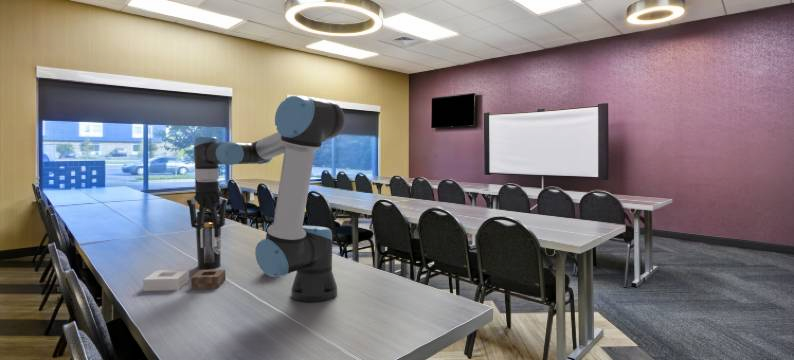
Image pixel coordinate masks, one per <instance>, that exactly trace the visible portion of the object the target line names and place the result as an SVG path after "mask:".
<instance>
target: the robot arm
mask: <svg viewBox="0 0 794 360" xmlns="http://www.w3.org/2000/svg"><path fill="white" fill-rule="evenodd" d="M345 124H346V115H345V113H344V111H343V109H342V107H340V105H339V104H337V103H336V102H334V101H332V100H327V99H320V98H315V97H311V96H306V95H292V96H291V95H290V96H288V97H286V98H285V99H284V100H282V101H281V103H279V105H278V106H277V108H276V111H275V114H274V125H275V126H276V127H275V128H276V130H277V132H275V133H272V134H270V135H267V136H266V137H263V138H261V139H259V140H257V141H254V142H233V141H224V142H223V141H222V142H219V141H218V138H217V136H196V137H195V138H194V143H193V144H194V146H193V153H194V157H193V158H194V180H196V182H194V183H195V184H194V185H195V188H194V189H195V194H194V196H193V198H190V199H187V200H186V203H187V205H188V208H189V217H190V225H191V228H194V229H196V228H197V234H198V238H200V239H201V248H203V247H204V233H203V228H202V227H203V221H204V214H205V211H206V208H209V210H210V211H211V215H212V220H213V225H214V228H213V229H212V248H213V247H216V246H217V238H218V237H219V228H220V227H221V228H222V227H224V226H225V225H226V211H227V210H226V207H227V205H228V201H229V200H228V198H224V197H222V196H221V194H220V185H219V184H220V183H219V181H218V180H219V178H220V177H219V165H225V166H234V165H253V164H255V165H261V164H262V165H263V164H268V163H270V162H271V160H273V158H275V157H277V156H280V155H281V156H282V155H283V157H282V158H283V159H282V166H281V170H280V171H281V172H280V176H279V177H280V180H279V185H278V191H277V197H276V203H275V204H276V205H275V212H274V216H273V217H274V218H273V224H271V225H269V227H267V229H266V234H265V238H263V239H261V240H260V241H259V242H257V244H256V247H255V253H254V254H255V258H256V263H257V265H258V266H259V268H260V270H261V271H262V272H263V273H264V274H265V275H266V276H268V277H272V278H275V277H281V276H286V275H288V274H290V273H291V274H292V273H294V272H296V273H295V277H294V280H293V284H292V286H291V292H290V293H291V294H290V296H291V298H292V299H293V300H296V301H298V302H304V303H305V302H307V303H318V302H319V303H320V302H324V301H329V300H332V299H333V298H335V297H336V296H337V294H338V286H337V282H336V280H335V277H334V274H333V273H334V272H333V232H332V230H331V229H330V228H329V227H325V226H319V225H317V226H316V225H304V219H305V213H306V207H307V202H308V196H309V190H310V189H309V188H310V183H311V177H312V169H313V165H314V160H315V159H314V158H315V153H316V151H318V150H319V149H320V148H322V143H323V142H326V141H328V140H331V139H334V138H336V137H337V136H339V135H340V134H341V132H342V131H343V130H344V128H345ZM218 202H219V207H220V210H219V215H220V221H218V216H217V211H218V210H217V204H218ZM196 203H197V204H198V205H199V207H198V210H199V211H198V212H199V216H198V223H197V210H196V208H197V207H196V205H195V204H196Z"/></svg>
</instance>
